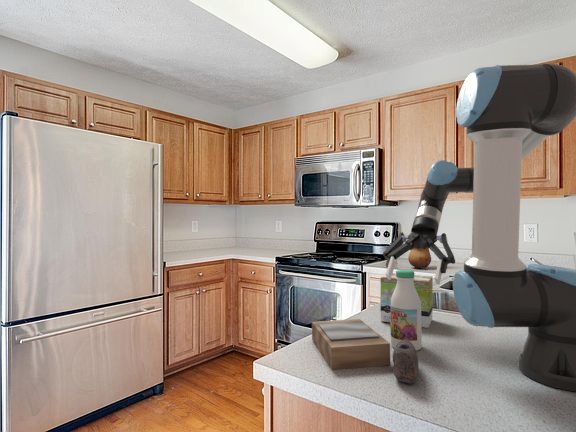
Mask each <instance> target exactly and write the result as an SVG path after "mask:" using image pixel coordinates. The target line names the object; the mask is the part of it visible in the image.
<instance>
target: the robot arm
mask: <svg viewBox="0 0 576 432" xmlns="http://www.w3.org/2000/svg"><path fill="white" fill-rule="evenodd" d="M456 101H457V102H456V108H455V118H456V122H457V124H458V125H459V127H462V128H466V138H467V139H469V140H470V141H471V142H472V143H473V148H474V151H473V152H474V153H473V167H457V165H456V164H455V163H454V162H453V161H447V160H443V159H442V160H438V161H435V162H434V163H433V164H431V167H430V168H429V172H428V173H427V176H426V179H425V180H426V182H425V183H424V188H423V189H422V191H421V194H420V199H419V201H418V206H417V209H416V213H415V217H414V219H413V221H412V222H413V223H412V226H411V230H410V233H409V234H404V232H403V231H401V232H399V235H398V236H397V238H396V239H395V240H394V241H392V243H391V244H390V245H389V246H388V247H387V248H386V249H385V250H383V252H382V255H383V257H384V260H386V263H385V267H386V272H385V274H386V276H387V278H388V280H391V277H392V273H393V272H394V271H395V270H394V269H395V267H396V262H397V261H396V260H397V259H399V258H400V257H402V256H403V255H405V254H406V253H407V252H408V251H409V252H410V251H411V250H412V249H414V248H416V249H419V248H422V249H426V248H428V247H429V251H431V252H433V254H434V255H435V256H436V257H437V258H438V262H437V266H436V271H435V276H434V281H435V284H436V285H438V286H440V285H441V279H442V275H443V274H446V273H447V269H448V265H450V264H452V265H454V264H456V259H455V256H454V253H453V251H452V249H451V247H450V244H449V243H448V237H447V234H446V233H445V232H444V233H441V235H438V232H439V226H440V223H441V219H442V213H443V209H444V206H445V203H446V201H447V199H448V197H449V194H451V193H472V194H473V195H472V229H471V230H472V234H471V254H470V256H469V257H467V258H466V259H465V260H464V261H463V270H459V271H456V272H455V273H454V275H453V278H452V290H453V296H454V301H455V303H456V307H457V309H458V311H459V313H460V315H461V317H462V318H463V320H465V322H466V323H468V324H470V326H471V325H472V326H473V327H474V326H475V327H487V328H489V329H493V328H527V332H528V333H527V336H526V337H527V338H526V339H525V343H524V346H523V349H522V350H523V351H522V353H520V355H519V359H518V364H519V365H518V367H519V371H520V372H521V374H523V375H525V376H526V377H527V378H530V379H532V380H533V381H536V382H538V383H539V384H543V385H546V386H549V387H551V388H556V389H560V390H564V391H569V392H576V269H572V268H567V267H562V266H554V265H549V264H548V265H547V264H540V263H538V264H537V263H529V264H527V265H526V264H525V263H524V262H523V261H522V260H521V259H520V258H519V249H520V248H519V246H520V243H519V242H520V215H521V212H520V211H521V190H522V189H521V188H522V187H521V181H522V162H523V161H524V160H525V159H526V158H527V157H528V156H529V155H530V154H531V153H533V151H535V150H536V149H537V148H538V147H539V146H540V145H541V144H542V143H543V142H544V141H545V140H546V139H548V138H549V137H550V136H555V135H558V134H560V133H561V132H563V131H564V130H565V129H566V128H567V127H568V126H569V125H570V124H572V122H573V121H574V120H575V119H576V72H574V71H573V70H572V69H571V68H569V67H567V66H564V65H563V64H562V65H560V64H557V63H543V64H514V65H511V64H510V65H509V64H508V65H507V64H506V65H501V64H495V65H492V66H485V67H483V66H482V67H478V68H476V69H475V70H473V71H472V72H470V73H469V75H467V77H466V78H465V80H464V82H463V83H462V86H461V88H460V91H459V94H458V98H457V100H456ZM438 241H439V243H441V244H442V246H443V249H444V251H445V253H443V252H442V250H441V249H440V248H439V247H438V246H437V244H435V243H436V242H438ZM410 243H411V244H412V245H411V244H410ZM445 254H446V255H445Z"/></svg>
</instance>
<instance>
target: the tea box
mask: <svg viewBox="0 0 576 432" xmlns="http://www.w3.org/2000/svg"><path fill="white" fill-rule="evenodd" d="M433 279H434V278H433V276H432V275H421V274H420V275H419V274H417V275H416V274H414V286H415V289H416V291H417V293H418V296H419V298H420V303H421V328H426V329H429V328H430V326H431V322H432V321H433V311H434V310H433V306H434V305H433V302H434V299H433V297H434V295H433V289H434V288H433V287H434V285H433V281H434V280H433ZM396 284H397V279H396V272H394V273H392V277H391V280H388V278H387V276H386V273H385V274H384V275H383V276H381V277H380V310H379V311H380V322H385V323H391V313H390V309H391V298H392V294H393V292H394V290H395V288H396Z"/></svg>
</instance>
